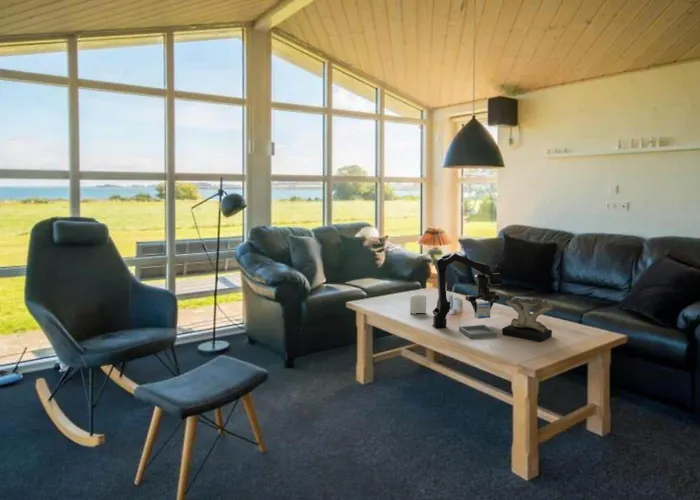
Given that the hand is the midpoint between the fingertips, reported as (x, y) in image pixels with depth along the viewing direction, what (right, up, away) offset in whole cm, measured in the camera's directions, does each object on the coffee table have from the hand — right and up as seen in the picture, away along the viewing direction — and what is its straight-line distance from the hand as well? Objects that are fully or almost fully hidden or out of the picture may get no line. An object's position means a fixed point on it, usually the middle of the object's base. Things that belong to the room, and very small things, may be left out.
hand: (482, 312), depth 294 cm
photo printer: (-33, -5, +29) cm, 44 cm away
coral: (+17, -11, -24) cm, 31 cm away
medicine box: (0, -3, 0) cm, 3 cm away
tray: (-7, -10, -16) cm, 20 cm away
